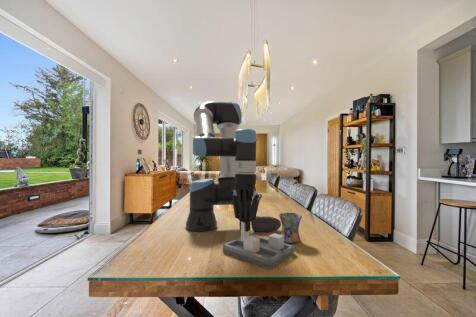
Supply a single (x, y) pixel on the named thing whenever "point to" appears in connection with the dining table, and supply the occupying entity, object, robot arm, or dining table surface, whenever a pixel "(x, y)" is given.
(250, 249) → the off-white cube
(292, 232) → the mug
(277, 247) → the pale grey cube
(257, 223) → the perforated stone tool
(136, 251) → the dining table surface
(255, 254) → the gray divided tray
